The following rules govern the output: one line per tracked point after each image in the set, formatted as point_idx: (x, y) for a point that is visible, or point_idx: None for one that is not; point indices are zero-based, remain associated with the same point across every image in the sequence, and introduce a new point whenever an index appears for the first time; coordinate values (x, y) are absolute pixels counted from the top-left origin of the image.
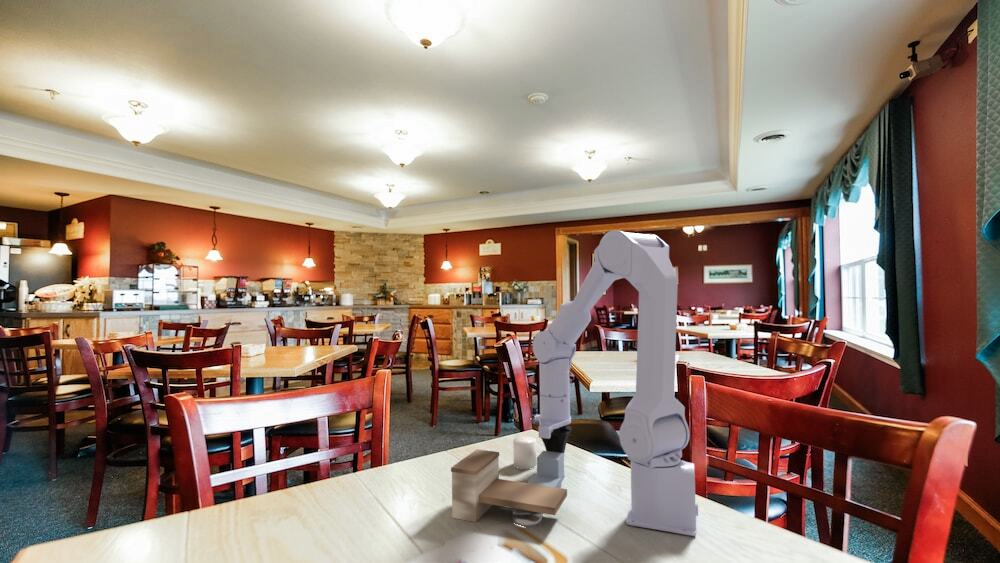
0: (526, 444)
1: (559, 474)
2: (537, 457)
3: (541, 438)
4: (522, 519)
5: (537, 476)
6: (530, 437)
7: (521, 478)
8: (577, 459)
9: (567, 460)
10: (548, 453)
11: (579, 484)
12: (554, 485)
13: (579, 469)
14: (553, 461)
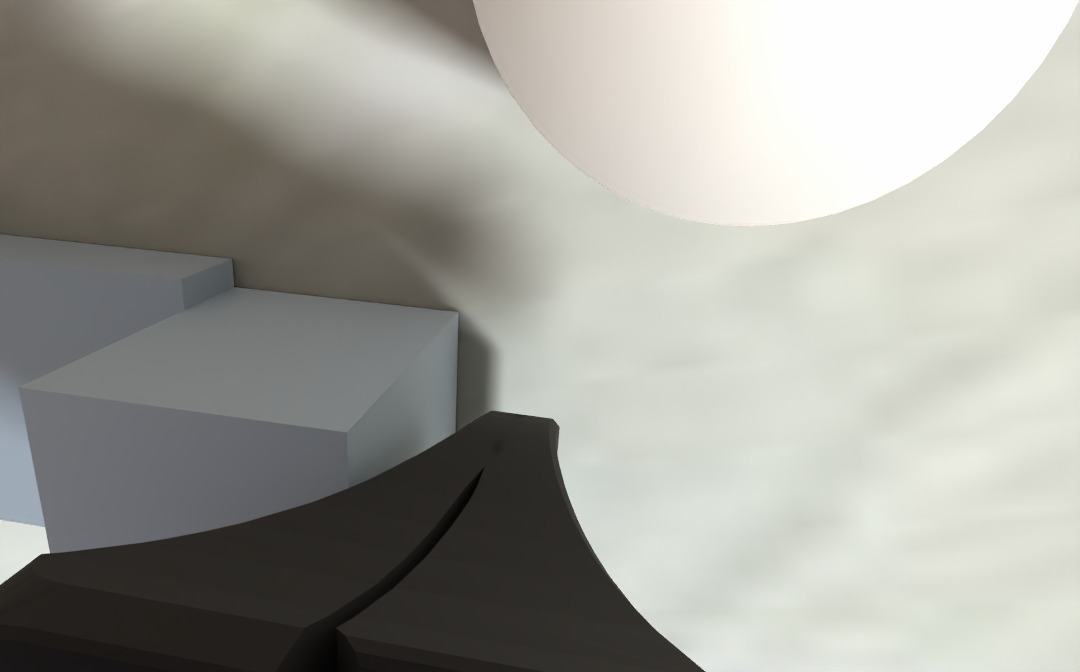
0: (496, 53)
1: None
2: (25, 395)
3: (162, 540)
4: None
5: (145, 323)
6: (1051, 5)
7: (272, 85)
8: (1065, 615)
9: (1011, 511)
10: None
11: None
12: (28, 512)
13: (722, 639)
14: None
